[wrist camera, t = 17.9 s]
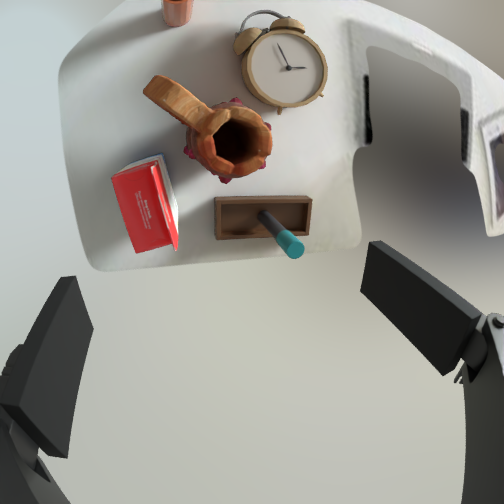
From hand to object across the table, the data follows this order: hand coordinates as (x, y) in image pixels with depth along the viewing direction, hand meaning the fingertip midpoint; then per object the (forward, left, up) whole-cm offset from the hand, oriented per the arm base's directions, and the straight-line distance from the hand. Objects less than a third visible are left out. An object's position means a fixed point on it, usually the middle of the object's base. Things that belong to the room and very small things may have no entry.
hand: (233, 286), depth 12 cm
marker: (+11, -2, -28) cm, 30 cm away
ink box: (-5, -3, -29) cm, 29 cm away
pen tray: (+11, -2, -29) cm, 31 cm away
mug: (-1, +7, -29) cm, 30 cm away
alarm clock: (+5, +19, -29) cm, 35 cm away
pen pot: (-10, +22, -29) cm, 37 cm away
